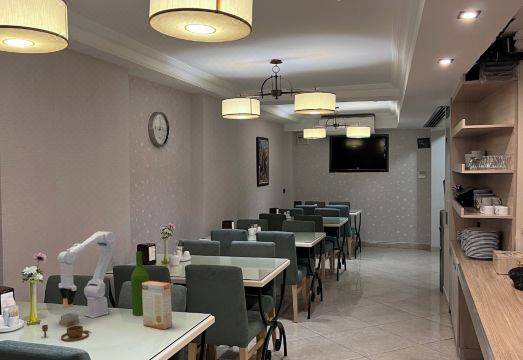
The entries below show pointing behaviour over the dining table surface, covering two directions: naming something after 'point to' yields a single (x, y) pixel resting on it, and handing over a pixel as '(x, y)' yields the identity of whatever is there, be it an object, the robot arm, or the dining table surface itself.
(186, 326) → the dining table surface
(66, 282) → the robot arm
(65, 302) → the terracotta cylinder
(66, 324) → the walnut block
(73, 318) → the slate block
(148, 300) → the cracker box
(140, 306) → the wine bottle
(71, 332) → the place setting
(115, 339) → the dining table surface
